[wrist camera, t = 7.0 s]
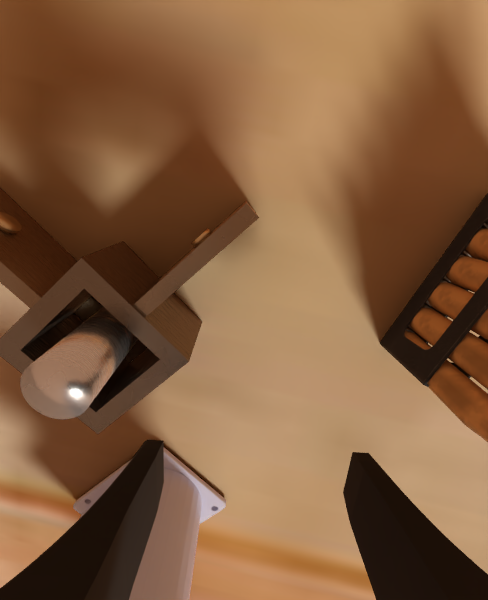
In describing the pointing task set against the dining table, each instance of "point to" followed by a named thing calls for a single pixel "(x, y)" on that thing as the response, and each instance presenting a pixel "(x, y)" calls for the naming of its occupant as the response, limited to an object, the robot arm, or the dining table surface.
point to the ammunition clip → (451, 326)
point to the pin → (77, 367)
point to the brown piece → (103, 302)
